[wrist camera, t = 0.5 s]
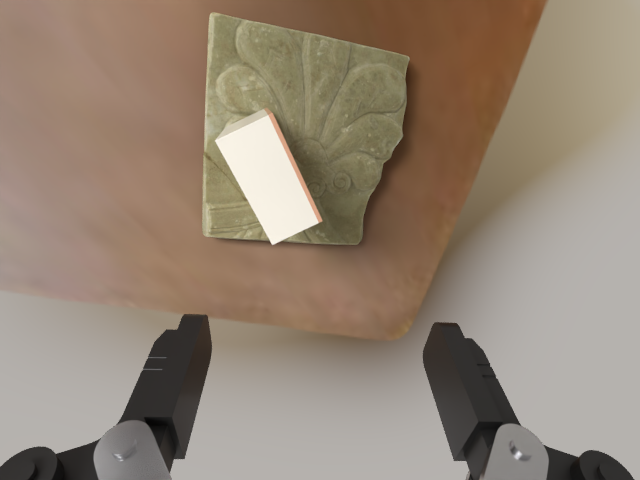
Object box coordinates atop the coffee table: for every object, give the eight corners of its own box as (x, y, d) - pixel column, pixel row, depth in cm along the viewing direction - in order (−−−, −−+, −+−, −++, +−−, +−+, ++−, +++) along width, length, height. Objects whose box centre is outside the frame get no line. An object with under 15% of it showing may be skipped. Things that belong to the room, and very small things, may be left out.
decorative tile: (203, 229, 38) (199, 242, 35) (211, 14, 31) (207, 5, 28) (367, 242, 42) (377, 254, 39) (408, 55, 35) (424, 51, 32)
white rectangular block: (225, 127, 31) (214, 140, 22) (266, 107, 31) (272, 113, 22) (267, 205, 35) (272, 245, 25) (304, 187, 34) (322, 221, 25)
